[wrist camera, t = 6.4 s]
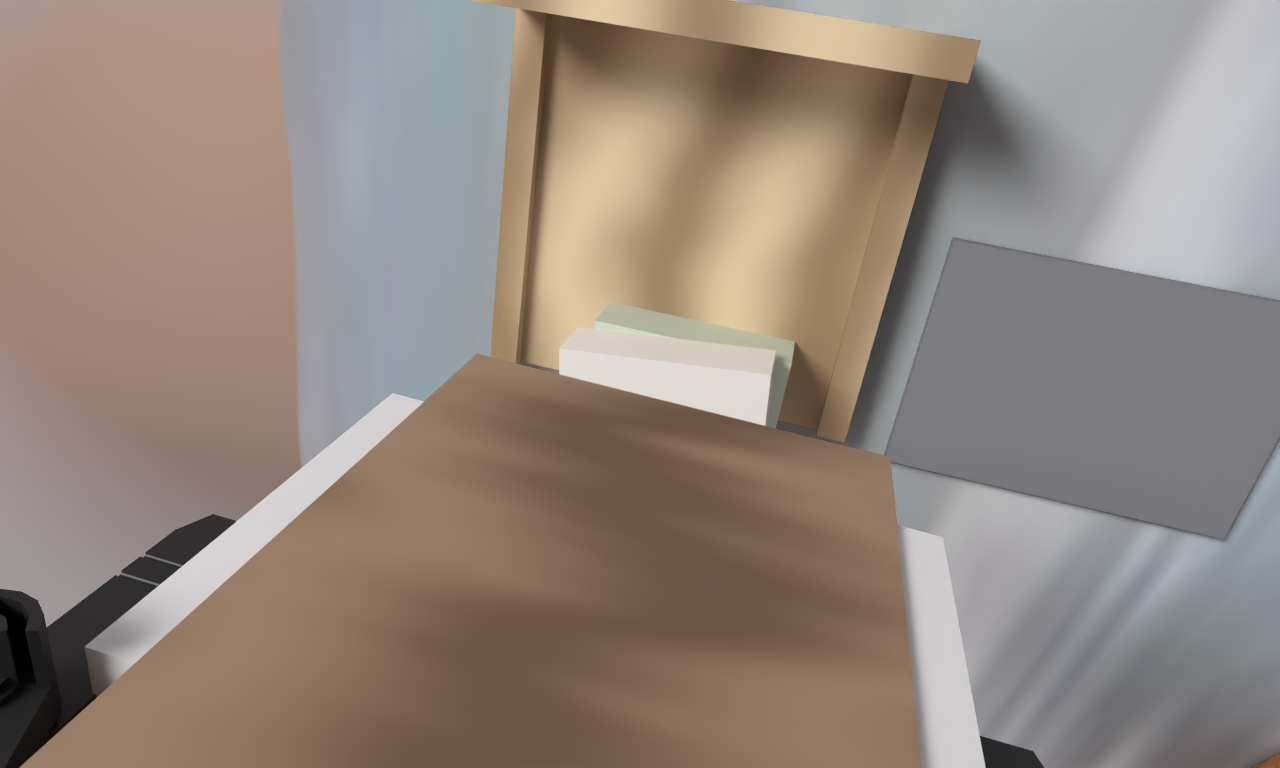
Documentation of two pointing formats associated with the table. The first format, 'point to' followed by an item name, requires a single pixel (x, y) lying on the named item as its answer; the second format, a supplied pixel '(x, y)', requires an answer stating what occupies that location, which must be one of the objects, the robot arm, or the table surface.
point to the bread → (1270, 762)
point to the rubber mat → (1093, 387)
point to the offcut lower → (689, 329)
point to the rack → (715, 177)
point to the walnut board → (545, 603)
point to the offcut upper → (674, 370)
